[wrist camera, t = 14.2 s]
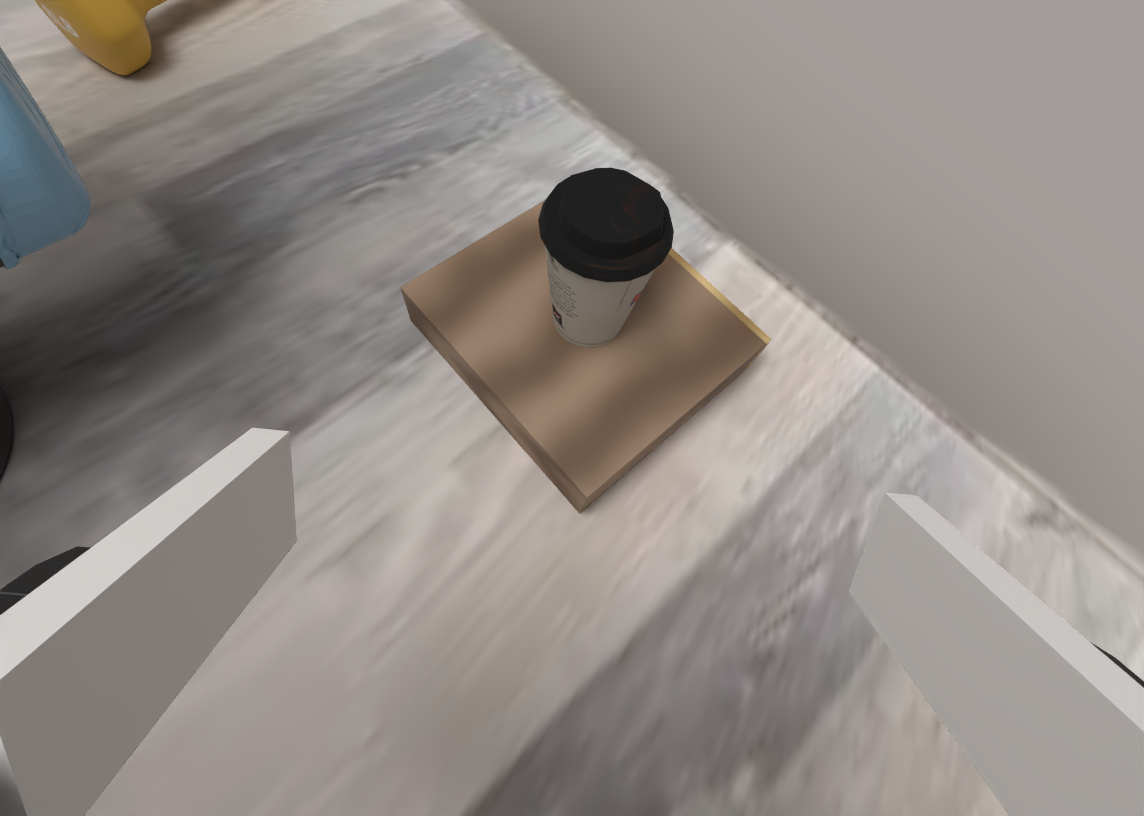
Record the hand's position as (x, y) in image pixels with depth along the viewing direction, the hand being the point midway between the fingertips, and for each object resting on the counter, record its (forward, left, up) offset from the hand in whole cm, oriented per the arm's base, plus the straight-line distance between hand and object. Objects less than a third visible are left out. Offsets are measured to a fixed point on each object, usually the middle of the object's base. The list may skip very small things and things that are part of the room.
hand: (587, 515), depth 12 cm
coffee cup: (-11, +13, -19) cm, 25 cm away
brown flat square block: (-11, +13, -22) cm, 28 cm away
